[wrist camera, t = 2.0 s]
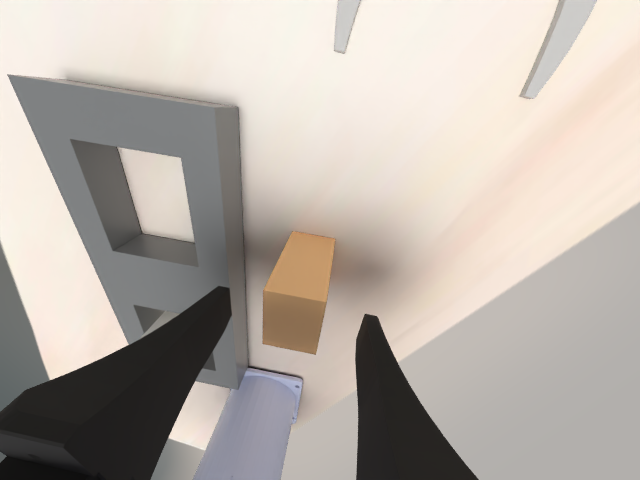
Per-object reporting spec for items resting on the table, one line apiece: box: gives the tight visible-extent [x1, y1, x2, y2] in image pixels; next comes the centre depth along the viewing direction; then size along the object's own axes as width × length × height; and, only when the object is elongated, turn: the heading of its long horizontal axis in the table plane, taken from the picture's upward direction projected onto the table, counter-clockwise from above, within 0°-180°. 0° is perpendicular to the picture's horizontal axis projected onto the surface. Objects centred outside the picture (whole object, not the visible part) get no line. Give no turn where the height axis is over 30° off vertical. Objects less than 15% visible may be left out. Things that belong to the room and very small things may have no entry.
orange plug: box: [263, 231, 335, 355], centre depth 14 cm, size 4×3×6 cm
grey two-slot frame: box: [7, 74, 248, 390], centre depth 18 cm, size 24×10×2 cm, turn 172°
